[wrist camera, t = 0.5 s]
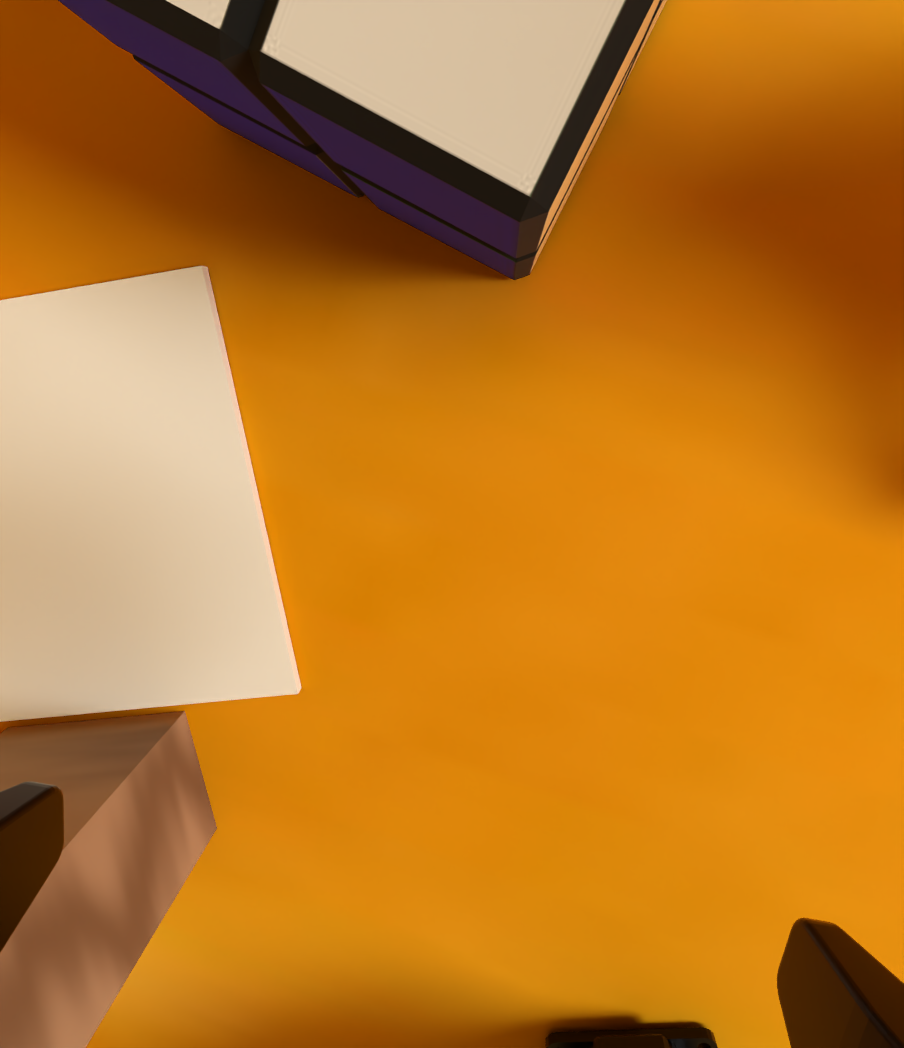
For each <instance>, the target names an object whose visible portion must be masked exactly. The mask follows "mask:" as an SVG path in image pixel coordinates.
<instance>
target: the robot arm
mask: <svg viewBox="0 0 904 1048" xmlns="http://www.w3.org/2000/svg"><path fill="white" fill-rule="evenodd" d="M63 846H64V797H63V792H62V790H61V789H60V788H59V787H57V786H55V785H50V784H45V783H39V782H33V781H28V782H23V783H20V784H18V785H15V786H13V787H11V788H8V789H6V790H3V791H1V792H0V953H1V951H2V950H3V948H4V947H5V945H6V943H7V942H8V940H9V939H10V937H11V935H12V934H13V932H14V931H15V929H16V928H17V926H18V924H19V923H20V921H21V920H22V918H23V916H24V915H25V913H26V912H27V910H28V909H29V907H30V905H31V904H32V902H33V901H34V899H35V897H36V896H37V894H38V893H39V891H40V889H41V888H42V886H43V885H44V883H45V882H46V880H47V878H48V877H49V875H50V874H51V872H52V870H53V869H54V867H55V866H56V864H57V862H58V860H59V858H60V856H61V853H62V850H63ZM777 989H778V995H779V1000H780V1004H781V1008H782V1012H783V1016H784V1020H785V1024H786V1028H787V1032H788V1036H789V1040H790V1045H791V1048H904V983H903V982H902V981H900V980H899V979H898V978H897V977H896V976H895V975H894V974H892V973H891V972H890V971H889V970H888V969H887V968H886V967H884V966H883V965H882V964H881V963H880V962H879V961H878V960H877V959H875V958H874V957H873V956H872V955H871V954H870V953H869V952H867V951H866V950H865V949H864V948H863V947H862V946H861V945H859V944H858V943H857V942H856V941H855V940H854V939H853V938H852V937H850V936H849V935H848V934H847V933H846V932H845V931H844V930H842V929H841V928H840V927H839V926H837V925H835V924H833V923H830V922H826V921H820V920H814V919H809V918H800V919H798V920H796V922H795V923H794V924H793V926H792V929H791V932H790V935H789V938H788V941H787V944H786V947H785V950H784V953H783V956H782V959H781V963H780V966H779V969H778V974H777ZM545 1043H546V1048H718V1047H717V1044H716V1041H715V1037H714V1034H713V1033H712V1032H711V1031H710V1030H709V1029H706V1028H670V1029H640V1030H609V1031H579V1032H555V1033H551V1034H550V1035H548V1036H547V1038H546V1042H545Z"/></svg>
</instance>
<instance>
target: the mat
mask: <svg viewBox="0 0 904 1048" xmlns="http://www.w3.org/2000/svg"><path fill="white" fill-rule="evenodd" d="M300 689H301V684H300V679H299V675H298V670H297V666H296V661H295V657H294V652H293V648H292V644H291V639H290V635H289V630H288V626H287V621H286V617H285V612H284V608H283V603H282V599H281V594H280V590H279V585H278V581H277V576H276V572H275V567H274V563H273V558H272V554H271V549H270V545H269V541H268V536H267V532H266V527H265V523H264V518H263V514H262V509H261V505H260V500H259V496H258V491H257V487H256V482H255V478H254V473H253V469H252V464H251V460H250V455H249V451H248V446H247V442H246V438H245V433H244V429H243V424H242V420H241V415H240V411H239V406H238V402H237V397H236V393H235V388H234V384H233V379H232V375H231V370H230V366H229V361H228V357H227V352H226V348H225V343H224V339H223V335H222V330H221V326H220V321H219V317H218V312H217V308H216V303H215V299H214V294H213V290H212V285H211V281H210V276H209V272H208V267H205V266H196V267H190V268H185V269H179V270H173V271H167V272H162V273H156V274H150V275H144V276H138V277H133V278H127V279H121V280H115V281H110V282H104V283H98V284H92V285H86V286H81V287H75V288H69V289H63V290H58V291H52V292H46V293H40V294H35V295H29V296H23V297H17V298H11V299H6V300H0V722H3V721H14V720H24V719H35V718H45V717H56V716H67V715H77V714H88V713H98V712H109V711H120V710H130V709H141V708H151V707H162V706H173V705H183V704H194V703H204V702H215V701H226V700H236V699H247V698H258V697H268V696H279V695H289V694H298V693H299V691H300Z"/></svg>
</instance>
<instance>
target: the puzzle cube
mask: <svg viewBox="0 0 904 1048" xmlns="http://www.w3.org/2000/svg"><path fill="white" fill-rule="evenodd" d="M58 1H60V2H61V3H62V4H64V5H65V6H66V7H67V8H69V9H70V10H71V11H73V12H74V13H75V14H77V15H78V16H79V17H80V18H82V19H83V20H84V21H86V22H87V23H88V24H90V25H91V26H92V27H93V28H95V29H96V30H97V31H99V32H100V33H101V34H103V35H104V36H105V37H106V38H108V39H109V40H110V41H112V42H113V43H114V44H116V45H117V46H119V47H121V48H122V49H124V50H126V51H128V52H130V53H132V54H133V57H134V59H135V60H136V61H138V62H139V63H140V64H141V65H143V66H144V67H145V68H147V69H148V70H149V71H151V72H152V73H153V74H154V75H156V76H157V77H158V78H160V79H161V80H162V81H164V82H165V83H166V84H167V85H169V86H170V87H171V88H173V89H174V90H175V91H177V92H178V93H179V94H180V95H182V96H183V97H184V98H186V99H187V100H188V101H190V102H191V103H192V104H193V105H195V106H196V107H197V108H199V109H200V110H201V111H203V112H204V113H205V114H206V115H208V116H209V117H210V118H212V119H213V120H214V121H216V122H217V123H218V124H220V125H222V126H224V127H226V128H228V129H229V130H231V131H233V132H235V133H237V134H239V135H241V136H243V137H245V138H246V139H248V140H250V141H252V142H254V143H256V144H258V145H260V146H262V147H263V148H265V149H267V150H269V151H271V152H273V153H275V154H277V155H279V156H281V157H282V158H284V159H286V160H288V161H290V162H292V163H294V164H296V165H298V166H299V167H301V168H303V169H305V170H307V171H309V172H311V173H313V174H315V175H316V176H318V177H320V178H322V179H324V180H326V181H328V182H330V183H332V184H333V185H335V186H337V187H339V188H341V189H343V190H345V191H347V192H349V193H350V194H352V195H354V196H356V197H361V196H363V195H366V196H367V197H368V198H369V199H370V200H371V201H372V202H373V203H374V204H375V205H376V206H377V207H378V208H379V209H381V210H383V211H385V212H387V213H388V214H390V215H392V216H394V217H396V218H398V219H400V220H402V221H404V222H405V223H407V224H409V225H411V226H413V227H415V228H417V229H419V230H421V231H422V232H424V233H426V234H428V235H430V236H432V237H434V238H436V239H438V240H439V241H441V242H443V243H445V244H447V245H449V246H451V247H453V248H455V249H457V250H458V251H460V252H462V253H464V254H466V255H468V256H470V257H472V258H474V259H475V260H477V261H479V262H481V263H483V264H485V265H487V266H489V267H491V268H492V269H494V270H496V271H498V272H500V273H502V274H504V275H506V276H508V277H509V278H511V279H513V280H516V279H519V278H522V277H525V276H527V275H530V273H531V271H532V269H533V267H534V265H535V263H536V261H537V259H538V257H539V255H540V253H541V251H542V249H543V247H544V245H545V243H546V241H547V239H548V237H549V235H550V233H551V231H552V229H553V227H554V225H555V223H556V221H557V219H558V217H559V215H560V213H561V211H562V209H563V207H564V205H565V203H566V201H567V199H568V197H569V195H570V193H571V191H572V189H573V187H574V185H575V183H576V181H577V179H578V177H579V175H580V173H581V171H582V169H583V167H584V165H585V163H586V161H587V159H588V157H589V155H590V153H591V151H592V149H593V147H594V145H595V143H596V141H597V139H598V137H599V135H600V133H601V131H602V129H603V127H604V125H605V123H606V121H607V119H608V117H609V114H610V112H611V110H612V108H613V105H614V103H615V101H616V99H617V96H618V95H620V93H621V91H622V89H623V87H624V85H625V83H626V81H627V79H628V77H629V75H630V73H631V71H632V69H633V67H634V65H635V63H636V61H637V59H638V57H639V55H640V53H641V51H642V49H643V47H644V45H645V43H646V41H647V39H648V37H649V35H650V33H651V31H652V29H653V27H654V25H655V23H656V21H657V19H658V17H659V15H660V13H661V11H662V9H663V7H664V5H665V3H666V1H667V0H58Z"/></svg>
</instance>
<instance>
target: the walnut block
mask: <svg viewBox="0 0 904 1048" xmlns="http://www.w3.org/2000/svg"><path fill="white" fill-rule="evenodd" d="M28 781H33V782H39V783H45V784H50V785H55V786H57V787H59V788H60V789H61V790H62V792H63V797H64V846H63V850H62V853H61V856H60V858H59V860H58V862H57V864H56V866H55V867H54V869H53V870H52V872H51V874H50V875H49V877H48V878H47V880H46V882H45V883H44V885H43V886H42V888H41V889H40V891H39V893H38V894H37V896H36V897H35V899H34V901H33V902H32V904H31V905H30V907H29V909H28V910H27V912H26V913H25V915H24V916H23V918H22V920H21V921H20V923H19V924H18V926H17V928H16V929H15V931H14V932H13V934H12V935H11V937H10V939H9V940H8V942H7V943H6V945H5V947H4V948H3V950H2V951H1V953H0V1048H86V1046H87V1045H88V1043H89V1041H90V1040H91V1038H92V1036H93V1035H94V1033H95V1031H96V1030H97V1028H98V1026H99V1025H100V1023H101V1021H102V1019H103V1018H104V1016H105V1014H106V1013H107V1011H108V1009H109V1008H110V1006H111V1004H112V1003H113V1001H114V999H115V998H116V996H117V994H118V993H119V991H120V989H121V988H122V986H123V984H124V983H125V981H126V979H127V978H128V976H129V974H130V973H131V971H132V969H133V968H134V966H135V964H136V963H137V961H138V959H139V958H140V956H141V954H142V953H143V951H144V949H145V948H146V946H147V944H148V943H149V941H150V939H151V938H152V936H153V934H154V933H155V931H156V929H157V928H158V926H159V924H160V922H161V921H162V919H163V917H164V916H165V914H166V912H167V911H168V909H169V907H170V906H171V904H172V902H173V901H174V899H175V897H176V896H177V894H178V892H179V891H180V889H181V887H182V886H183V884H184V882H185V881H186V879H187V877H188V876H189V874H190V872H191V871H192V869H193V867H194V866H195V864H196V862H197V861H198V859H199V857H200V856H201V854H202V852H203V851H204V849H205V847H206V846H207V844H208V842H209V841H210V839H211V837H212V836H213V834H214V832H215V830H216V829H217V827H216V823H215V820H214V816H213V812H212V809H211V805H210V801H209V798H208V794H207V790H206V787H205V783H204V779H203V776H202V772H201V769H200V765H199V761H198V758H197V754H196V750H195V747H194V743H193V739H192V736H191V732H190V728H189V725H188V721H187V718H186V714H185V711H181V712H170V713H159V714H149V715H138V716H127V717H116V718H106V719H95V720H84V721H74V722H63V723H52V724H41V725H31V726H20V727H9V728H7V729H6V730H4V731H3V732H2V733H0V792H1V791H3V790H6V789H8V788H11V787H13V786H15V785H18V784H20V783H23V782H28Z"/></svg>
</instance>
